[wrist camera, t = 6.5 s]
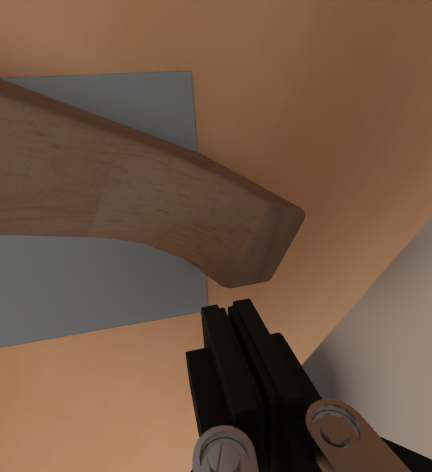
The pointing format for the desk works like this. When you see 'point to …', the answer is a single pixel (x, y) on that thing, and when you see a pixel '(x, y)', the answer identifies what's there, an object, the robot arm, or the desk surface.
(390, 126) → the desk surface
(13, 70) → the desk surface
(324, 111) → the desk surface
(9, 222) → the wooden block
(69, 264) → the mat
